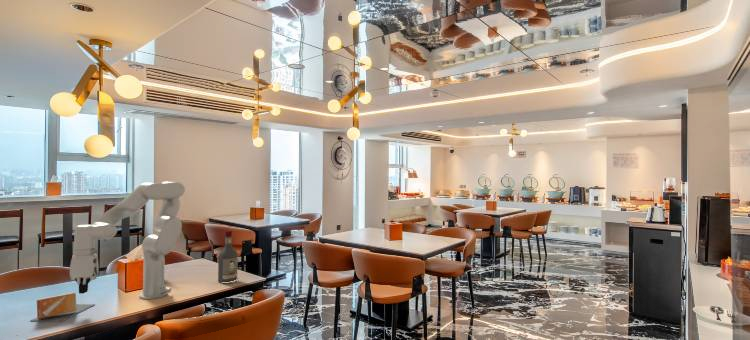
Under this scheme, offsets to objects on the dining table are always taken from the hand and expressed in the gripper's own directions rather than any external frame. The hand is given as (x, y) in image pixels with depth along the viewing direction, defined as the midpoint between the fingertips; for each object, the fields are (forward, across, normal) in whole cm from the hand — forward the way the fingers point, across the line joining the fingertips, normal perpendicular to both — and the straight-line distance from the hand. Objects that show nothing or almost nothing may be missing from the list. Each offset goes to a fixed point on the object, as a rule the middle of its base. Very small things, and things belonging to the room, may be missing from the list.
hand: (83, 292), depth 172 cm
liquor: (+9, -47, -51) cm, 70 cm away
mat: (+9, +8, 0) cm, 12 cm away
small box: (+4, +2, +1) cm, 4 cm away
